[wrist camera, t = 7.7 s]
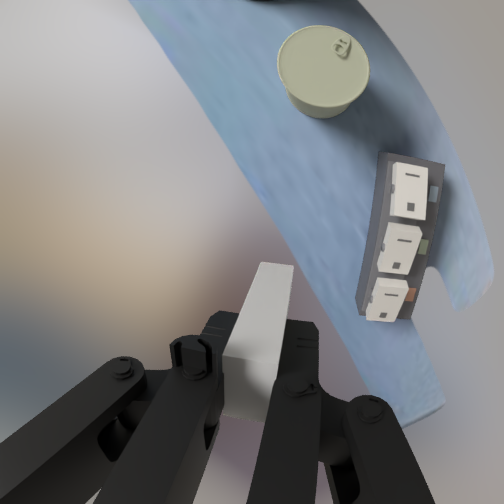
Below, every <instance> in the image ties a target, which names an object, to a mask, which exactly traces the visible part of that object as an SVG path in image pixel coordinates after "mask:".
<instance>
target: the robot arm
mask: <svg viewBox="0 0 504 504" xmlns="http://www.w3.org/2000/svg"><path fill="white" fill-rule="evenodd" d="M257 1H270V0H257ZM293 270H294V266H292V265H283V264H275V263H266V262H261V263H260V266H259V268H258V271H257V273H256V275H255V278H254V280H253V283H252V285H251V287H250V290H249V292H248V295H247V297H246V300H245V302H244V304H243V307H242V309H241V312H240V314H239V313H232V312H226V311H218V312H217V313H215V314H214V315H212V316H211V317H210V318H209V320H208V322H207V323H206V326H205V327H204V329H203V331H202V334H200V335H187V336H182V337H179V338H177V339H175V340H174V341H173V342H172V343H171V344H170V352H171V359H172V366H173V367H172V368H171V369H168V370H144V367H143V365H142V363H141V362H140V361H139V360H137V359H135V358H132V357H124V356H123V357H122V356H121V357H117V358H113V359H112V360H110V361H108V362H106V363H105V364H104V365H102V366H101V367H100V368H99V369H97V370H96V371H95V372H93V373H92V374H91V375H89V376H88V377H87V378H86V379H84V380H83V381H82V382H80V383H79V384H78V385H76V386H75V387H74V388H72V389H71V390H70V391H68V392H67V393H66V394H64V395H63V396H62V397H61V398H59V399H58V400H57V401H55V402H54V403H53V404H51V405H50V406H49V407H47V408H46V409H45V410H43V411H42V412H41V413H40V414H38V415H37V416H36V417H34V418H33V419H32V420H30V421H29V422H28V423H27V424H25V425H24V426H22V427H21V428H20V429H19V430H17V431H16V432H15V433H13V434H12V435H11V436H9V437H8V438H7V439H5V440H4V441H3V442H2V443H0V504H85V503H86V502H87V501H88V500H89V499H90V498H91V497H92V496H93V495H94V494H95V493H96V492H98V490H100V489H101V490H100V492H99V494H98V496H97V497H96V499H95V501H94V502H93V504H193V501H194V498H195V495H196V493H197V490H198V487H199V484H200V482H201V479H202V476H203V473H204V470H205V468H206V465H207V462H208V459H209V456H210V453H211V450H212V448H213V445H214V442H215V439H216V436H217V434H218V430H219V424H220V421H219V418H220V415H221V412H222V409H223V415H224V416H229V417H235V418H240V419H245V420H251V421H257V422H264V423H265V426H264V430H263V435H262V440H261V444H260V449H259V453H258V457H257V462H256V466H255V470H254V474H253V479H252V483H251V487H250V491H249V495H248V499H247V503H246V504H315V496H316V485H317V473H318V461H320V462H323V463H324V466H325V470H326V475H327V479H328V483H329V487H330V491H331V495H332V499H333V504H435V502H434V500H433V497H432V495H431V493H430V490H429V488H428V485H427V483H426V481H425V479H424V476H423V474H422V472H421V470H420V467H419V465H418V463H417V461H416V459H415V456H414V454H413V452H412V450H411V448H410V446H409V443H408V441H407V439H406V437H405V435H404V433H403V431H402V429H401V427H400V425H399V422H398V420H397V418H396V416H395V414H394V412H393V410H392V408H391V407H390V406H389V404H388V403H387V402H386V401H384V400H383V399H381V398H379V397H376V396H372V395H362V396H359V397H356V398H354V399H352V400H351V401H350V402H346V401H343V400H340V399H337V398H335V397H333V396H330V395H329V394H328V393H326V392H325V391H324V390H323V388H322V387H321V385H320V384H319V380H318V367H319V363H318V362H319V361H318V360H319V350H318V349H319V342H318V341H319V331H318V329H317V328H316V326H315V324H314V323H313V322H307V321H298V320H290V319H287V318H288V310H289V303H290V295H291V287H292V278H293Z"/></svg>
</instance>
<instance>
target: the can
mask: <svg viewBox="0 0 504 504" xmlns="http://www.w3.org/2000/svg"><path fill="white" fill-rule="evenodd" d="M277 68H278V73H279V76H280V79H281V81H282V83H283V84H284V86H285V87H286V92H287V95H288V98H289V100H290V101H291V103H292V104H293V105H294V106H295V107H296V108H297V109H298V110H299V111H300V112H302V113H304V114H306V115H308V116H311V117H314V118H330V117H334V116H337V115H339V114H340V113H342V112H343V111H345V110H346V109H347V108H348V106H349V105H350V104H351V102H352V101H354V100H355V99H357V98H358V97H359V96H360V95H361V94H362V93H363V91H364V90H365V88H366V86H367V84H368V82H369V77H370V64H369V60H368V57H367V54H366V52H365V50H364V49H363V47H362V46H361V45H360V43H359V42H358V41H357V40H356V39H355V38H353V37H352V36H351V35H349V34H348V33H346V32H344V31H342V30H340V29H338V28H334V27H331V26H324V25H315V26H309V27H305V28H302V29H300V30H298V31H296V32H294V33H293V34H291V35H290V36H289V37H288V38H287V39H286V40H285V41H284V43H283V44H282V46H281V48H280V50H279V53H278V58H277Z"/></svg>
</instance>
